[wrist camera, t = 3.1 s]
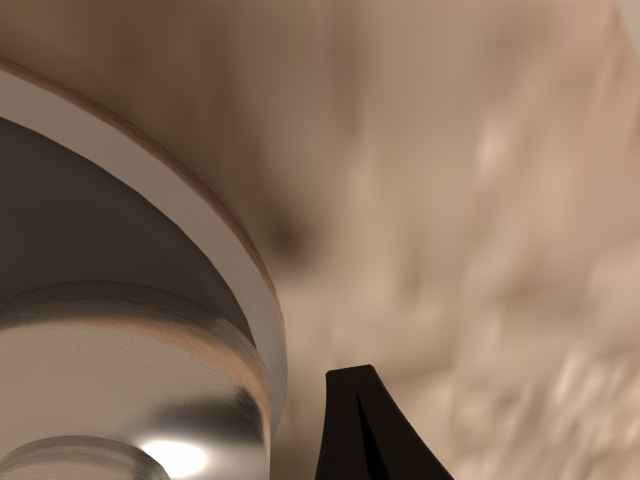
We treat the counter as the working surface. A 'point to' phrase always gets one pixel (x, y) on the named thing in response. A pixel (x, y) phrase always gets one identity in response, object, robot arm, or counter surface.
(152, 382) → the cover
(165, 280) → the turntable
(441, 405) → the counter surface
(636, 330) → the counter surface
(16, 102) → the base
